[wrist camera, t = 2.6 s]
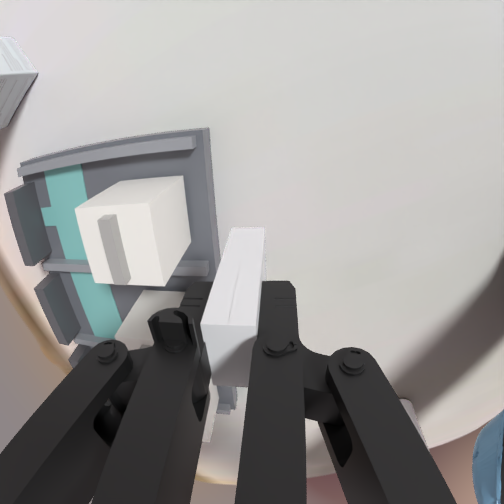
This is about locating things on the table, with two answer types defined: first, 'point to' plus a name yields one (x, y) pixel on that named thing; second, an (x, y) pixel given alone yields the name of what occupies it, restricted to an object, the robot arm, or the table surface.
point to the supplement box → (13, 77)
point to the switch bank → (70, 241)
